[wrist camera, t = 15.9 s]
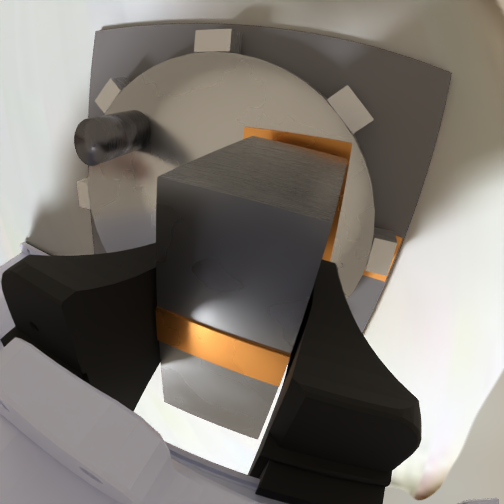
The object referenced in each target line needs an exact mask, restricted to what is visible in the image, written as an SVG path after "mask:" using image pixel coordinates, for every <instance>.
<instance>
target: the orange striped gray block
mask: <svg viewBox="0 0 504 504" xmlns="http://www.w3.org/2000/svg"><path fill="white" fill-rule="evenodd" d="M347 162H348V159H345V158H342V157H338V156H335V155H331V154H327V153H324V152H320V151H316V150H312V149H308V148H304V147H300V146H296V145H292V144H287V143H283V142H279V141H274V140H270V139H265V138H261V137H256V136H251V137H248V138H246V139H243V140H240V141H238V142H235V143H233V144H231V145H228V146H226V147H223V148H221V149H218V150H216V151H214V152H211V153H209V154H207V155H204V156H202V157H200V158H197V159H195V160H193V161H191V162H188V163H186V164H184V165H182V166H179V167H177V168H175V169H173V170H171V171H169V172H166V173H164V174H162V175H160V176H158V177H157V199H156V287H157V307H156V308H155V309H156V327H157V340H159V347H160V360H161V372H162V383H163V393H164V402H166V403H168V404H170V405H172V406H175V407H177V408H179V409H181V410H183V411H186V412H188V413H190V414H193V415H195V416H197V417H200V418H202V419H204V420H207V421H209V422H212V423H214V424H217V425H219V426H222V427H225V428H227V429H230V430H233V431H235V432H238V433H241V434H243V435H246V436H249V437H252V438H255V439H258V438H259V435H260V433H261V430H262V428H263V425H264V423H265V420H266V418H267V415H268V413H269V410H270V408H271V405H272V403H273V400H274V397H275V395H276V392H277V389H278V387H279V385H280V383H281V380H282V377H283V375H284V372H285V369H286V366H287V364H288V361H289V358H290V355H291V351H292V348H293V346H294V343H295V340H296V337H297V334H298V331H299V328H300V325H301V322H302V320H303V317H304V314H305V311H306V308H307V304H308V301H309V298H310V295H311V292H312V289H313V286H314V283H315V280H316V276H317V273H318V270H319V267H320V263H321V260H322V257H323V254H324V250H325V247H326V243H327V240H328V237H329V233H330V230H331V226H332V223H333V219H334V215H335V211H336V207H337V203H338V199H339V195H340V191H341V187H342V183H343V179H344V175H345V170H346V166H347Z"/></svg>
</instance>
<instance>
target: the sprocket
mask: <svg viewBox="0 0 504 504" xmlns="http://www.w3.org/2000/svg"><path fill="white" fill-rule="evenodd" d="M241 42H242V33H240V32H238V31H236V30H233V29H210V30H196V32H195V44H194V52H197V53H192V54H187V55H183V56H179V57H176V58H172V59H169V60H167V61H164V62H162V63H160V64H158V65H156V66H153V67H152V68H150V69H148V70H147V71H145V72H144V73H142V74H141V75H139V76H138V77H136V78H135V79H134V80H133V81H132V82H131V83H130V82H129V80H128V79H127V78H126V77H119V78H110V79H109V81H108V82H107V84H106V85H105V86H104V88H103V89H102V91H101V92H100V94H99V95H98V97H97V98H96V100H95V102H96V103H97V105H98V106H99V107H100V109H101V110H102V111H103V113H104V114H105V115H103V116H98V117H93V118H89V119H85V120H83V121H82V122H81V123H80V124H79V125H78V127H77V129H76V132H75V137H74V143H75V149H76V152H77V154H78V156H79V158H80V159H81V160H82V161H83V162H84V163H85V164H87V165H89V172H88V177H86V178H84V179H81V180H79V181H77V191H78V199H79V206H80V207H82V208H86V209H91V211H92V215H93V219H94V222H95V226H96V229H97V232H98V234H99V237H100V240H101V242H102V244H103V246H104V248H105V250H106V252H107V253H110V252H117V251H123V250H128V249H133V248H137V247H141V246H145V245H149V244H152V243H156V199H157V177H158V176H160V175H162V174H164V173H166V172H169V171H171V170H173V169H175V168H177V167H179V166H182V165H184V164H186V163H188V162H191V161H193V160H195V159H197V158H200V157H202V156H204V155H207V154H209V153H211V152H214V151H216V150H218V149H221V148H223V147H226V146H228V145H231V144H233V143H235V142H238V141H240V140H243V139H246V138H248V137H251V136H256V137H261V138H265V139H270V140H274V141H279V142H283V143H287V144H292V145H296V146H300V147H304V148H308V149H312V150H316V151H320V152H324V153H327V154H331V155H335V156H338V157H342V158H345V159H348V162H347V166H346V170H345V175H344V179H343V183H342V187H341V191H340V195H339V199H338V203H337V207H336V211H335V215H334V219H333V223H332V226H331V230H330V233H329V237H328V240H327V243H326V247H325V250H324V254H323V257H322V259H323V260H326V261H330V262H333V263H336V265H337V267H338V273H339V277H340V281H341V285H342V288H343V291H344V294H345V297H346V300H347V299H348V298H349V296H350V295H351V294H352V292H353V291H354V289H355V288H356V286H357V284H358V282H359V280H360V279H361V277H362V275H363V272H364V270H365V271H368V272H372V273H376V274H381V275H385V276H387V275H388V272H389V268H390V265H391V262H392V259H393V256H394V252H395V249H396V246H397V239H396V234H395V232H394V231H390V230H386V229H382V228H378V227H374V217H375V208H374V198H373V190H372V182H371V177H370V174H369V170H368V166H367V163H366V160H365V157H364V154H363V152H362V150H361V148H360V145H359V143H358V141H357V139H356V137H355V135H354V133H355V132H357V131H358V130H360V129H361V128H363V127H364V126H365V125H367V124H368V123H370V122H371V121H373V120H374V119H373V118H372V116H371V115H370V113H369V112H368V111H367V109H366V108H365V107H364V105H363V104H362V103H361V101H360V100H359V99H358V97H357V96H356V95H355V94H354V92H353V91H352V90H351V88H350V87H349V86H348V85H347V86H345V87H344V88H342V89H341V90H340V91H338V92H337V93H335V94H334V95H333V96H331V97H330V98H328V99H327V98H326V97H325V96H324V95H322V94H321V93H320V92H319V91H318V90H317V89H315V88H314V87H313V86H312V85H310V84H309V83H308V82H307V81H305V80H303V79H302V78H300V77H298V76H297V75H295V74H293V73H292V72H290V71H288V70H287V69H284V68H282V67H279V66H277V65H274V64H272V63H270V62H267V61H264V60H261V59H258V58H254V57H250V56H246V55H241ZM365 267H366V269H365Z"/></svg>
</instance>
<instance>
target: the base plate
mask: <svg viewBox="0 0 504 504" xmlns="http://www.w3.org/2000/svg"><path fill="white" fill-rule="evenodd" d="M210 29H233V30H236V31H238V32H240V33H242V42H241V55H246V56H250V57H254V58H258V59H261V60H264V61H267V62H270V63H272V64H274V65H277V66H279V67H282V68H284V69H287V70H288V71H290V72H292V73H293V74H295V75H297V76H298V77H300V78H302V79H303V80H305V81H307V82H308V83H309V84H310V85H312V86H313V87H314V88H315V89H317V90H318V91H319V92H320V93H321V94H322V95H324V96H325V97H326V98H327V99H328V98H330V97H331V96H333V95H334V94H335V93H337V92H338V91H340V90H341V89H342V88H344V87H345V86H347V85H348V86H349V87H350V88H351V90H352V91H353V92H354V94H355V95H356V96H357V97H358V99H359V100H360V101H361V103H362V104H363V105H364V107H365V108H366V109H367V111H368V112H369V113H370V115H371V116H372V118H373V119H374V120H373V121H371V122H370V123H368V124H367V125H365V126H364V127H363V128H361V129H360V130H358V131H357V132H355V133H354V135H355V137H356V139H357V141H358V143H359V145H360V148H361V150H362V152H363V154H364V157H365V160H366V163H367V166H368V170H369V174H370V177H371V182H372V190H373V198H374V208H375V217H374V227H378V228H382V229H386V230H390V231H394V232H395V234H396V239H397V246H396V249H395V252H394V256H393V259H392V262H391V265H390V268H389V272H388V275H387V276H385V275H381V274H376V273H372V272H368V271H365V270H364V272H363V275H362V277H361V279H360V280H359V282H358V284H357V286H356V288H355V289H354V291H353V292H352V294H351V295H350V296H349V298H348V299H347V302H348V305H349V307H350V310H351V312H352V314H353V317H354V319H355V321H356V323H357V325H358V327H359V329H360V330H361V332H362V333H363V331H364V329H365V327H366V325H367V323H368V321H369V319H370V317H371V314H372V312H373V310H374V308H375V306H376V304H377V302H378V299H379V297H380V295H381V293H382V291H383V288H384V286H385V284H386V281H387V279H388V277H389V275H390V272H391V270H392V267H393V265H394V263H395V260H396V258H397V255H398V253H399V250H400V248H401V245H402V243H403V240H404V238H405V235H406V232H407V230H408V227H409V224H410V221H411V219H412V216H413V213H414V210H415V207H416V205H417V202H418V199H419V196H420V193H421V190H422V187H423V184H424V180H425V177H426V174H427V171H428V168H429V164H430V161H431V157H432V154H433V150H434V147H435V143H436V140H437V136H438V132H439V128H440V124H441V120H442V116H443V112H444V108H445V103H446V99H447V94H448V89H449V85H450V80H451V74H452V73H450V72H448V71H445V70H443V69H440V68H438V67H435V66H432V65H430V64H427V63H424V62H421V61H418V60H416V59H413V58H410V57H406V56H403V55H400V54H397V53H394V52H390V51H387V50H384V49H380V48H376V47H373V46H369V45H365V44H361V43H357V42H353V41H348V40H344V39H339V38H335V37H330V36H324V35H319V34H313V33H308V32H301V31H295V30H287V29H280V28H271V27H261V26H250V25H235V24H206V23H187V24H159V25H144V26H133V27H123V28H115V29H107V30H100V31H96V33H95V40H94V48H93V57H92V67H91V79H90V94H89V116H88V119H89V118H93V117H98V116H103V115H105V114H104V113H103V111H102V110H101V109H100V107H99V106H98V105H97V103H96V102H95V100H96V98H97V97H98V95H99V94H100V92H101V91H102V89H103V88H104V86H105V85H106V84H107V82H108V81H109V79H110V78H119V77H126V78H127V79H128V80H129V82H130V83H131V82H132V81H133V80H134V79H135V78H136V77H138V76H139V75H141V74H142V73H144V72H145V71H147V70H148V69H150V68H152V67H153V66H156V65H158V64H160V63H162V62H164V61H167V60H169V59H172V58H176V57H179V56H183V55H187V54H192V53H197V52H194V44H195V32H196V30H210ZM88 172H89V165H88ZM90 210H91V209H90ZM91 223H92V234H93V243H94V252H95V254H102V253H107V252H106V250H105V248H104V246H103V244H102V242H101V240H100V237H99V234H98V232H97V229H96V226H95V222H94V219H93V215H92V211H91ZM365 269H366V267H365ZM289 359H290V358H289ZM288 363H289V361H288ZM287 365H288V364H287Z"/></svg>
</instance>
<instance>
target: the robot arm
mask: <svg viewBox="0 0 504 504" xmlns="http://www.w3.org/2000/svg"><path fill="white" fill-rule="evenodd" d="M20 248H21V252H22V253H20V254H19V255H17V256H16V257H14V258H13V259H11V260H10V261H8V262H7V263H5V264H4V265H2V266H1V267H0V504H383V497H384V491H385V487H387V486H388V485H389V484H390V482H391V476H392V470H393V469H395V468H396V467H397V466H398V465H400V464H401V463H402V462H403V461H405V460H406V459H407V458H408V457H409V456H411V455H412V454H413V453H414V452H415V451H416V449H417V448H418V447H419V444H420V442H421V414H420V407H419V400H418V399H417V398H416V397H415V396H414V395H413V394H412V393H411V392H410V391H408V390H407V389H406V388H405V387H404V386H403V385H402V384H401V383H400V382H399V381H398V380H397V379H396V378H395V377H394V375H393V374H392V373H391V372H390V371H389V370H388V369H387V367H386V366H385V365H384V364H383V363H382V361H381V360H380V359H379V358H378V356H377V355H376V353H375V352H374V351H373V349H372V348H371V346H370V345H369V344H368V342H367V340H366V339H365V337H364V336H363V334H362V332H361V330H360V329H359V327H358V325H357V323H356V321H355V319H354V317H353V314H352V312H351V310H350V307H349V305H348V302H347V300H346V297H345V294H344V291H343V288H342V285H341V281H340V277H339V273H338V267H337V265H336V263H333V262H330V261H326V260H323V259H322V260H321V263H320V267H319V270H318V273H317V276H316V280H315V283H314V286H313V289H312V292H311V295H310V298H309V301H308V304H307V308H306V311H305V314H304V317H303V320H302V322H301V325H300V328H299V331H298V334H297V337H296V340H295V343H294V346H293V348H292V351H291V355H290V359H289V363H288V367H287V372H286V376H285V379H284V383H283V386H282V389H281V392H280V395H279V397H278V400H277V403H276V405H275V408H274V411H273V413H272V416H271V419H270V421H269V424H268V426H267V429H266V432H265V434H264V437H263V439H262V442H261V444H260V447H259V449H258V452H257V454H256V456H255V459H254V461H253V464H252V466H251V468H250V471H249V473H248V475H246V474H243V473H240V472H237V471H234V470H231V469H229V468H226V467H223V466H221V465H218V464H216V463H213V462H211V461H208V460H206V459H203V458H201V457H198V456H196V455H194V454H191V453H189V452H187V451H184V450H182V449H180V448H178V447H176V446H173V445H171V444H169V443H167V442H165V441H164V440H163V438H162V437H161V435H160V434H159V433H158V432H157V431H156V430H155V429H154V428H152V427H151V426H150V425H149V424H148V423H147V422H146V421H145V420H144V419H143V418H142V417H140V416H139V415H137V414H136V413H134V412H133V411H134V409H135V407H136V405H137V403H138V401H139V399H140V398H141V396H142V394H143V392H144V390H145V388H146V386H147V384H148V382H149V381H150V379H151V377H152V375H153V374H154V372H155V370H156V368H157V367H158V365H159V363H160V362H161V360H160V347H159V340H157V327H156V309H155V308H156V307H157V287H156V243H152V244H149V245H145V246H141V247H137V248H133V249H128V250H123V251H117V252H110V253H102V254H94V255H81V256H50V255H48V254H46V253H44V252H42V251H40V250H38V249H37V248H35V247H33V246H31V245H29V244H27V243H25V242H23V243H21V244H20ZM458 504H499V499H497V498H493V499H492V498H491V499H472V500H467V501H463V502H461V503H458Z"/></svg>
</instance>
